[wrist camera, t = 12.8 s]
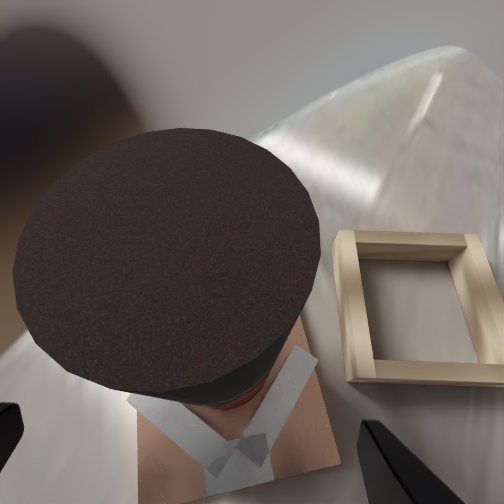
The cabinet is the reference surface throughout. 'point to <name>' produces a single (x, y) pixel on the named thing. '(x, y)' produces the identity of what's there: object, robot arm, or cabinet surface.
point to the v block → (236, 435)
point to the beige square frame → (469, 292)
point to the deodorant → (170, 266)
